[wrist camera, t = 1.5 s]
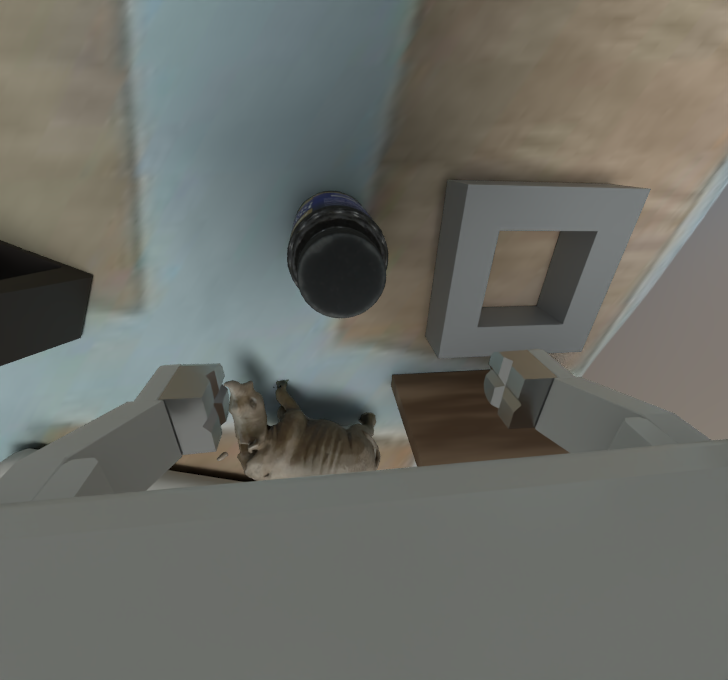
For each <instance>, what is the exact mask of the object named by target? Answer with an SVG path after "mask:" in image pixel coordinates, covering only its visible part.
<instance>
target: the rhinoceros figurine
mask: <svg viewBox="0 0 728 680" xmlns="http://www.w3.org/2000/svg"><path fill="white" fill-rule="evenodd" d="M287 381H288V380H286V381H285V380H283V381H277V382H276V384H277V390H276V399H277V401H278V402H279V403H280V404H281V406H280V407H279V410H278V411H277V416H278V418H279V420H280V422H279V423H277V424H276V425H273V426H269V425H267V414H266V412H265V407H264V401H263V397H262V395H261V394H260V393H258V392H256V391H255V390H254V388H253V382H252V381H248V382H247V383H243V384H241V383H239V382H237V381H234V380H232V381H228V382H225V383H224V386H227V387H229V389H230V392H231V396H230V404H229V412H230V413H231V414H232V416H233V419H234V424H235V433H236V438H237V439H238V443H239V449H240V453H239V454H238V456H237V458H238V459H239V461H240V462H241V464H242V467H243V469H244V473H245V474H246V475H247V476H248V477H250V478H252V479H254V480H256V481H262V480H274V479H285V478H296V477H308V476H319V475H330V474H342V473H353V472H364V471H375V470H376V469H377V468H378V465H379V462H380V452H379V448H378V446H377V444H376V442H375V441H374V439H373V438H372V437H371V436H373V435H374V425H375V424H376V419H375V415H374V414H372V413H364V414H362V415H361V420H359V422H361V423H362V424H354V425H350V426H340V425H339V424H336V423H334V422H332V421H329V420H324V419H311V418H308V417H307V416H306V415H304V413H303V412H302V411H301V409H300V407H299V405H298V404H297V403H296V402H295V400H294V399H293V398H292V397H291V396H290V395H289V394H288V392H287V391H286V386H287ZM279 385H281V388H280V387H279ZM273 388H274V387H273ZM226 456H228V453H227V452H223V453H222V454H221V455H220V456H219V457H218V458H217V460H218V461H220V460H223V459H224V458H225V457H226Z"/></svg>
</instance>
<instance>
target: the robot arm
mask: <svg viewBox="0 0 728 680" xmlns="http://www.w3.org/2000/svg"><path fill="white" fill-rule="evenodd" d="M489 365H490V367H491V370H490V371H489V372H488V373H487V374H486V376H485V380H484V392H485V395H486V398H487V400H488V401H489V403H490V404H491V405H493V406H495V407H497V408H498V413H497V414H498V415H499V417H500V418H501V420H502V421H503V422H504V424H505V425H506V427H507V428H508V429H522V428H535V429H536V430H537V431H538V432H540V433H541V434H543V435H544V436H546V437H547V438H549V439H550V440H552V441H553V442H555V443H556V444H558V445H559V446H561V447H562V448H563V449H565V450H566V451H568V452H569V453H567V454H555V455H544V456H533V457H521V458H510V459H498V460H487V461H476V462H464V463H453V464H442V465H431V466H420V467H409V468H398V469H386V470H375V471H364V472H353V473H342V474H330V475H319V476H308V477H296V478H285V479H274V480H262V481H251V482H240V483H228V484H217V485H206V486H194V487H183V488H172V489H160V490H149V491H146V490H147V489H148V488H150V487H151V486H152V485H153V484H154V483H155V482H156V481H157V480H158V479H159V478H160V477H161V476H162V475H163V474H164V473H165V472H166V471H167V470H168V469H169V468H171V467H172V466H173V465H174V464H175V463H176V462H177V461H178V460H179V459H180V458H181V457H182V455H186V454H195V453H205V452H215V451H216V450H217V447H218V444H219V441H220V438H221V435H222V429H221V425H222V424H223V423H224V422H226V420H227V417H228V413H229V394H228V389H227V388H226V387H225V386H223V385H222V382H223V379H224V377H225V375H224V371H223V367H222V366H221V364H220V363H217V364H183V365H181V364H175V365H163V366H160V367H159V368H158V369H157V371H156V372H155V373H154V375H153V376H152V377H151V379H150V380H149V381H148V383H147V384H146V386H145V387H144V388H143V390H142V391H141V392H140V394H139V395H138V396H137V398H136V399H135V400H134V402H126V403H125V404H123V405H121V406H119V407H117V408H115V409H113V410H112V411H110V412H108V413H106V414H104V415H102V416H100V417H99V418H97V419H95V420H93V421H91V422H89V423H87V424H86V425H84V426H82V427H80V428H78V429H76V430H74V431H73V432H71V433H69V434H67V435H65V436H63V437H61V438H60V439H58V440H56V441H54V442H52V443H50V444H48V445H47V446H45V447H43V448H41V449H39V450H37V451H35V452H34V453H32V454H30V455H28V456H26V457H24V458H22V459H21V460H19V461H17V462H16V463H15V464H14V465H13V466H12V467H11V468H10V469H9V470H8V471H7V472H6V473H5V474H4V475H3V476H2V477H1V478H0V680H728V439H724V440H711V439H709V438H708V437H706V436H705V435H704V434H702V433H701V432H699V431H698V430H697V429H695V428H694V427H692V426H691V425H690V424H688V423H687V422H686V421H684V420H683V419H681V418H680V417H679V416H677V415H676V414H675V413H672V412H670V411H667V410H664V409H661V408H659V407H657V406H654V405H652V404H649V403H646V402H644V401H641V400H639V399H636V398H633V397H631V396H628V395H626V394H623V393H621V392H618V391H616V390H613V389H610V388H608V387H605V386H603V385H600V384H597V383H595V382H592V381H589V380H587V379H584V378H582V377H575V376H574V375H573V374H571V373H570V372H569V371H568V370H567V369H566V368H564V367H563V366H562V365H561V364H560V363H558V362H557V361H556V360H555V359H554V358H552V357H551V356H550V355H549V354H548V353H547V352H545V351H544V350H541V349H530V350H518V351H503V352H493V354H492V355H491V357H490V360H489Z"/></svg>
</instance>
